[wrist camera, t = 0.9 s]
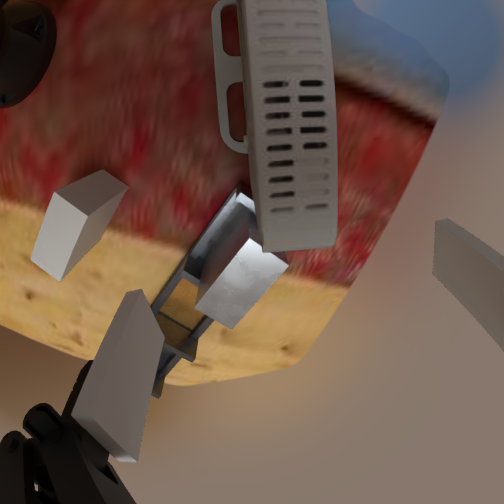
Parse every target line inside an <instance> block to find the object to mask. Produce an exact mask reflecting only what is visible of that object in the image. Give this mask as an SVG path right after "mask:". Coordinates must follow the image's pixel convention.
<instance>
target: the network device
mask: <svg viewBox="0 0 504 504" xmlns="http://www.w3.org/2000/svg"><path fill="white" fill-rule="evenodd" d="M229 5H237V17H238V30H239V42H240V55H241V56H229V55H227V54H226V53H225V52H224V50H223V44H222V30H221V16H220V14H221V11H222V9H223V8H225V7H226V6H229ZM211 22H212V36H213V50H214V64H215V77H216V90H217V102H218V114H219V126H220V133H221V137H222V139H223V141H224V142H225V143H226V145H227V146H228V147H230V148H231V149H232V150H234V151H236V152H239V153H243V154H248V159H249V172H250V183H251V191H252V196H253V202H254V207H255V213H256V218H257V224H258V230H259V235H260V241H261V247H262V252H263V253H269V252H281V251H293V250H305V249H317V248H329V247H333V245H334V244H335V240H336V235H337V213H338V153H337V121H336V101H335V85H334V71H333V59H332V49H331V39H330V30H329V21H328V13H327V6H326V0H220V1H218V2H217V3H216V5H215V6H214V8H213V10H212V13H211ZM237 82H243V94H244V106H245V119H246V133H247V136H244V142H237V141H235V140H233V139H232V137H231V136H230V132H229V120H228V108H227V95H226V92H227V89H228V87H229V86H230V85H231V84H233V83H237Z"/></svg>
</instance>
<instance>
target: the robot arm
mask: <svg viewBox="0 0 504 504" xmlns="http://www.w3.org/2000/svg"><path fill="white" fill-rule="evenodd" d="M7 1H8V0H0V108H7V107H11V106H13V105H15V104H17V103H19V102H20V101H22V100H23V99H24V98H26V97H27V96H28V95H29V94H30V93H31V92H32V91H33V89H34V88H35V87H36V86H37V84H38V83H39V81H40V80H41V78H42V77H43V75H44V73H45V71H46V69H47V67H48V65H49V63H50V60H51V57H52V54H53V51H54V47H55V41H56V24H55V20H54V17H53V15H52V13H51V12H50V11H49V10H48V9H47V8H46V7H44V6H42V5H40V4H37V3H35V2H30V1H21V2H13V3H6V2H7ZM432 273H433V275H434V276H435V277H436V278H437V279H438V280H439V281H440V282H441V283H442V284H443V285H444V286H445V287H446V288H447V289H448V290H449V291H450V292H451V293H452V294H453V295H454V296H455V297H456V298H457V299H458V300H459V302H461V304H462V305H463V306H464V307H465V308H466V309H467V310H468V311H469V312H470V313H471V314H472V315H473V317H474V318H475V319H476V320H477V321H478V322H479V323H480V324H481V325H482V327H483V328H484V329H485V330H486V331H487V332H488V333H489V335H490V336H491V337H492V338H493V339H494V340H495V342H496V343H497V344H498V345H499V346H500V347H501V349H502V350H503V351H504V256H502V255H501V254H500V253H498V252H497V251H496V250H494V249H493V248H491V247H490V246H488V245H487V244H486V243H484V242H483V241H481V240H480V239H478V238H477V237H475V236H474V235H473V234H471V233H469V232H468V231H467V230H465V229H464V228H462V227H461V226H459V225H457V224H456V223H454V222H453V221H451V220H450V219H442V220H438V221H435V238H434V258H433V272H432ZM164 339H165V337H164V335H163V333H162V331H161V329H160V327H159V325H158V323H157V321H156V318H155V316H154V314H153V312H152V310H151V308H150V306H149V304H148V301H147V299H146V297H145V295H144V293H143V290H142V289H139V290H135V291H130V292H126V294H125V296H124V298H123V300H122V302H121V304H120V306H119V308H118V310H117V312H116V314H115V316H114V318H113V320H112V322H111V324H110V326H109V329H108V331H107V333H106V335H105V337H104V339H103V341H102V343H101V346H100V348H99V350H98V352H97V354H96V356H95V359H94V360H89V361H88V363H87V364H86V365H85V366H84V367H83V368H82V369H81V371H80V373H79V375H78V378H77V380H76V381H77V382H76V383H75V384H74V387H73V391H72V392H71V394H70V396H69V398H68V401H67V403H66V405H65V408H64V410H63V413H62V415H61V416H60V415H59V414H58V413H57V412H56V411H55V410H54V409H53V407H52V406H50V405H49V404H47V403H40V404H38V405H36V406H34V407H33V408H31V409H30V410H29V411H28V413H27V414H26V415H25V417H24V420H23V428H24V429H25V430H26V432H28V433H29V434H30V435H31V436H32V437H33V438H29V439H27V438H25V436H24V435H23V434H22V433H21V432H18V431H11V432H9V433H7V434H6V435H5V436H4V437H3V439H2V441H1V442H0V504H136V502H135V501H134V499H133V498H132V496H131V495H130V493H129V492H128V490H127V489H126V487H125V486H124V484H123V483H122V481H121V480H120V478H119V476H118V475H117V473H116V471H115V470H114V468H113V466H112V465H111V464H110V463H109V462H108V457H109V453H110V454H111V455H112V456H113V457H114V458H115V459H117V460H118V461H123V462H138V457H139V452H140V446H141V441H142V436H143V431H144V426H145V421H146V416H147V411H148V406H149V402H150V397H151V393H152V389H153V384H154V380H155V376H156V372H157V367H158V363H159V359H160V355H161V351H162V347H163V343H164ZM34 483H35V484H36V485H38V492H37V491H36V490H35V486H34Z"/></svg>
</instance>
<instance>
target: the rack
mask: <svg viewBox="0 0 504 504" xmlns="http://www.w3.org/2000/svg"><path fill="white" fill-rule="evenodd" d="M288 266H289V264H288V261H287V258H286V255H285V252H284V251H281V252H269V253H263V252H262V247H261V241H260V235H259V230H258V224H257V218H256V213H255V207H254V202H253V196H252V191H251V188H250V187H248V186H247V185H246V184H244V183H243V182H241V181H240V182H239V184H238V185H237V186H236V188H235V189H234V190H233V191H232V193H231V194H230V195H229V197H228V198H227V199H226V201H225V202H224V203H223V205H222V206H221V207H220V209H219V210H218V212H217V213H216V214H215V216H214V217H213V218H212V220H211V221H210V222H209V224H208V225H207V226H206V228H205V229H204V231H203V232H202V233H201V235H200V236H199V238H198V239H197V240H196V242H195V243H194V244H193V246H192V247H191V249H190V250H189V251H188V253H187V254H186V256H185V257H184V259H183V260H182V261H181V263H180V264H179V266H178V267H177V269H176V270H175V271H174V273H173V274H172V276H171V277H170V279H169V280H168V281H167V283H166V284H165V286H164V287H163V289H162V290H161V292H160V293H159V295H158V296H157V298H156V299H155V301H154V302H153V304H152V305H151V306H150V308H151V310H152V312H153V314H154V316H155V318H156V321H157V323H158V325H159V327H160V329H161V331H162V333H163V335H164V337H165V339H164V343H163V347H162V351H161V355H160V359H159V363H158V367H157V372H156V376H155V380H154V384H153V389H152V393H151V395H152V396H154V397H156V398H158V399H159V398H160V396H161V393H162V389H163V384H164V380H165V376H166V375H167V374H168V373H169V372H170V371H171V370H172V368H173V367H174V366H175V365H176V364H177V363H178V362H179V360H180V359H181V358H184V359H186V360H188V361H190V362H193V361H194V360H195V358H196V351H197V345H198V339H199V337H200V336H201V335H202V334H203V333H204V332H205V330H206V329H207V328H208V327H209V326H210V325H211V323H212V322H213V321H214V320H216V321H217V322H219V323H221V324H223V325H225V326H226V327H228V328H230V329H233V327H234V326H235V325H236V324H237V323H238V322H239V321H240V320H241V319H242V318H243V317H244V315H245V314H246V313H247V312H248V311H249V310H250V309H251V308H252V307H253V305H254V304H255V303H256V302H257V301H258V300H259V299H260V298H261V297H262V295H263V294H264V293H265V292H266V291H267V290H268V289H269V288H270V287H271V285H272V284H273V283H274V282H275V281H276V280H277V279H278V277H279V276H280V275H281V274H282V273H283V272H284V271H285V270H286V268H287V267H288Z"/></svg>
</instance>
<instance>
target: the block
mask: <svg viewBox="0 0 504 504" xmlns="http://www.w3.org/2000/svg"><path fill="white" fill-rule="evenodd" d="M128 188H129V187H128V186H127V185H125V184H124V183H122V182H121V181H119V180H118V179H117V178H115V177H114V176H112V175H111V174H109V173H108V172H106V171H105V170H103V169H102V170H99V171H97V172H95V173H93V174H90V175H88V176H86V177H84V178H82V179H80V180H77V181H75V182H73V183H71V184H69V185H67V186H65V187H63V188H61V189H59V190H57V191H55V192H54V194H53V196H52V198H51V201H50V204H49V206H48V209H47V211H46V214H45V217H44V219H43V222H42V225H41V228H40V231H39V234H38V237H37V240H36V243H35V246H34V249H33V253H32V256H31V259H30V260H31V261H33V262H34V263H35V264H36V265H38V266H39V267H40V268H42V269H43V270H44V271H46V272H47V273H48V274H50V275H51V276H52V277H54V278H55V279H56V280H58V281H59V282H61V281H62V279H63V278H64V277H65V276H66V275H67V274H68V273H69V272H70V271H71V270H72V269H73V267H74V266H75V265H76V264H77V263H78V262H79V261H80V260H81V259H82V258H83V257H84V256H85V255H86V254H87V253H88V252H89V251H90V250H91V249H92V248H93V247H94V246H95V245H96V244H97V243H98V242H99V241H100V240H101V238H102V236H103V234H104V232H105V230H106V228H107V226H108V224H109V222H110V220H111V218H112V216H113V215H114V213H115V211H116V209H117V207H118V205H119V204H120V202H121V200H122V198H123V196H124V195H125V193H126V191H127V189H128Z"/></svg>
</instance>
